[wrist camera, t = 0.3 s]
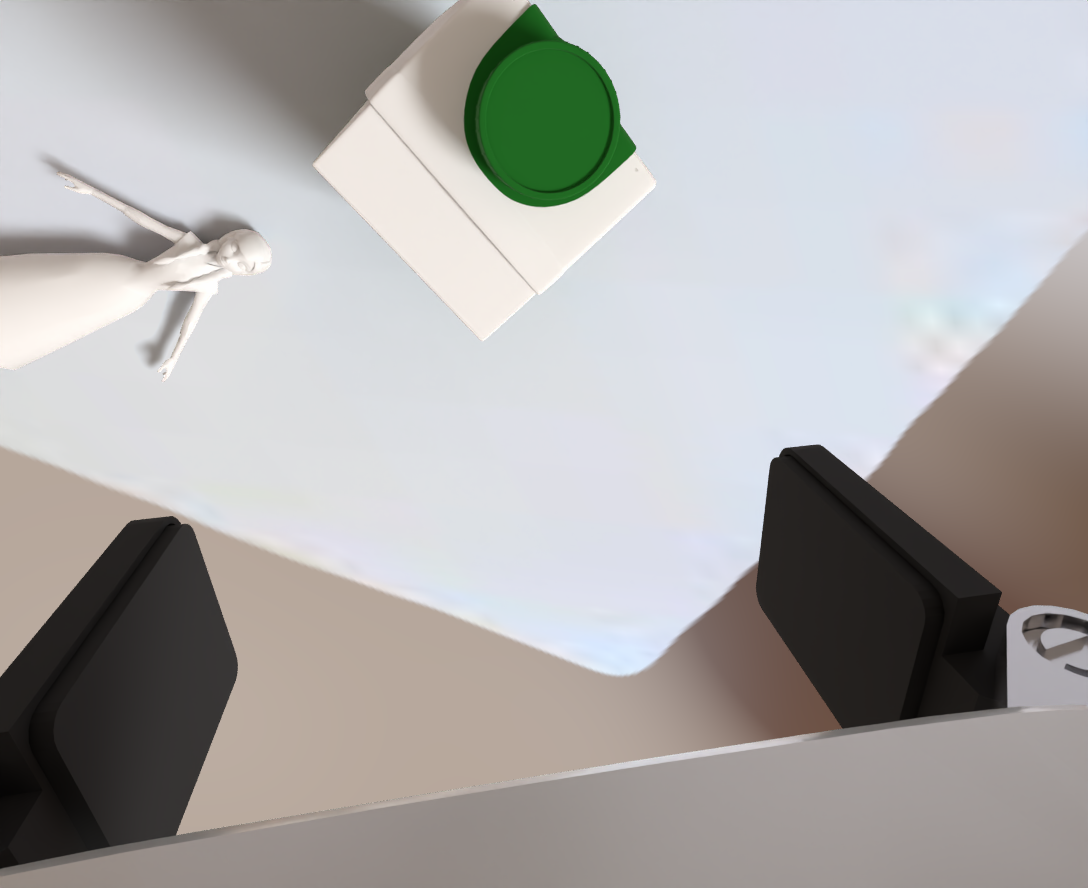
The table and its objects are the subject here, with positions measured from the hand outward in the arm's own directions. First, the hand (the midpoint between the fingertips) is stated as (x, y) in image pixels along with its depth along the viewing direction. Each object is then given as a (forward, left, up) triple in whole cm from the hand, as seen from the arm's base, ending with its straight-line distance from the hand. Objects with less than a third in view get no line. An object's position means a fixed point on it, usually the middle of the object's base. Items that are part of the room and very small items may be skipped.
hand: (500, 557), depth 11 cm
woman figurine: (+1, -19, -31) cm, 37 cm away
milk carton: (-5, +1, -31) cm, 31 cm away
